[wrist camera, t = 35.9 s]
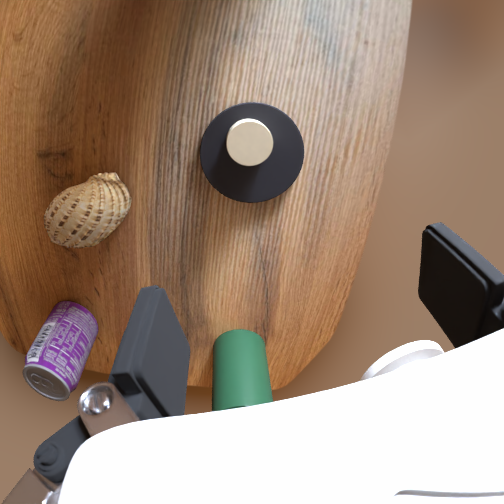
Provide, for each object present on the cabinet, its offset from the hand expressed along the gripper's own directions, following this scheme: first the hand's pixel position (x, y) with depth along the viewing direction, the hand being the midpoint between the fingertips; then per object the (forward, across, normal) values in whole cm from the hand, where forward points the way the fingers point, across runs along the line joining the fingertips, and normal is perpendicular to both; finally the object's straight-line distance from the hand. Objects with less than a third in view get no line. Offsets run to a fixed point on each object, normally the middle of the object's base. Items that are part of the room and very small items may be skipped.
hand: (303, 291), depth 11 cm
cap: (+20, 0, -2) cm, 20 cm away
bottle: (+23, +7, +24) cm, 34 cm away
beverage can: (+23, +28, +14) cm, 39 cm away
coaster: (+22, 0, 0) cm, 22 cm away
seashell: (+22, +18, 0) cm, 29 cm away
